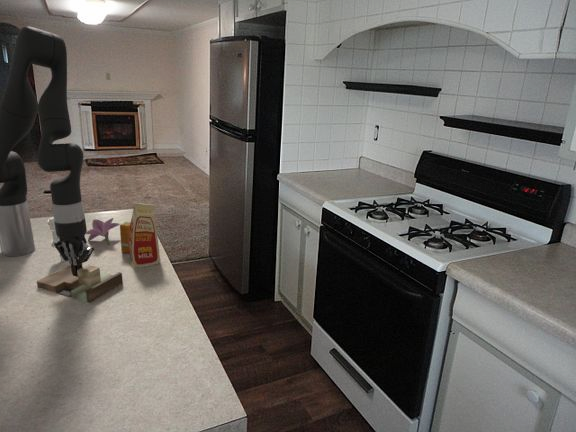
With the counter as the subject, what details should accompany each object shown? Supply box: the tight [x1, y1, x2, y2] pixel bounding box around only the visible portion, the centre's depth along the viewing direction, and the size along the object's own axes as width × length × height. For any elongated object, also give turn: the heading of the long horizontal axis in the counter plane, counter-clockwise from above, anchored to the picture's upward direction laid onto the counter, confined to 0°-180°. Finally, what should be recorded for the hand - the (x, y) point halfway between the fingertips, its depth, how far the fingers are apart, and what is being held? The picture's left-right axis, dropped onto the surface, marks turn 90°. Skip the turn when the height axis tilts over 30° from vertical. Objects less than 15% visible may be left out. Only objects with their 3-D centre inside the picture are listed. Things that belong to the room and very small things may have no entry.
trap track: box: [36, 264, 124, 304], centre depth 121 cm, size 20×12×4 cm, turn 67°
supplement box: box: [119, 221, 131, 254], centre depth 144 cm, size 3×3×10 cm
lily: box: [85, 217, 121, 246], centre depth 151 cm, size 12×12×10 cm
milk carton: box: [129, 202, 161, 269], centre depth 136 cm, size 9×9×20 cm
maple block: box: [77, 264, 101, 286], centre depth 119 cm, size 4×4×4 cm
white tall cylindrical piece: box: [47, 216, 66, 262], centre depth 135 cm, size 7×7×15 cm
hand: (77, 275), depth 121 cm, fingers closed
